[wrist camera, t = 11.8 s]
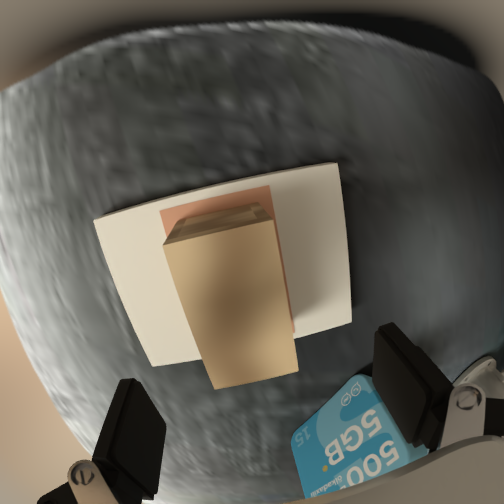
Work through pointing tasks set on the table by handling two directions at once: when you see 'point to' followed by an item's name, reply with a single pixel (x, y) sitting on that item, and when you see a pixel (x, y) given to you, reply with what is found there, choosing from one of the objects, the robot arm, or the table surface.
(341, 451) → the data package
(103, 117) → the table surface
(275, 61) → the table surface
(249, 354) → the tan cardboard box
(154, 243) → the plate
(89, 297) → the table surface
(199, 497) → the table surface
